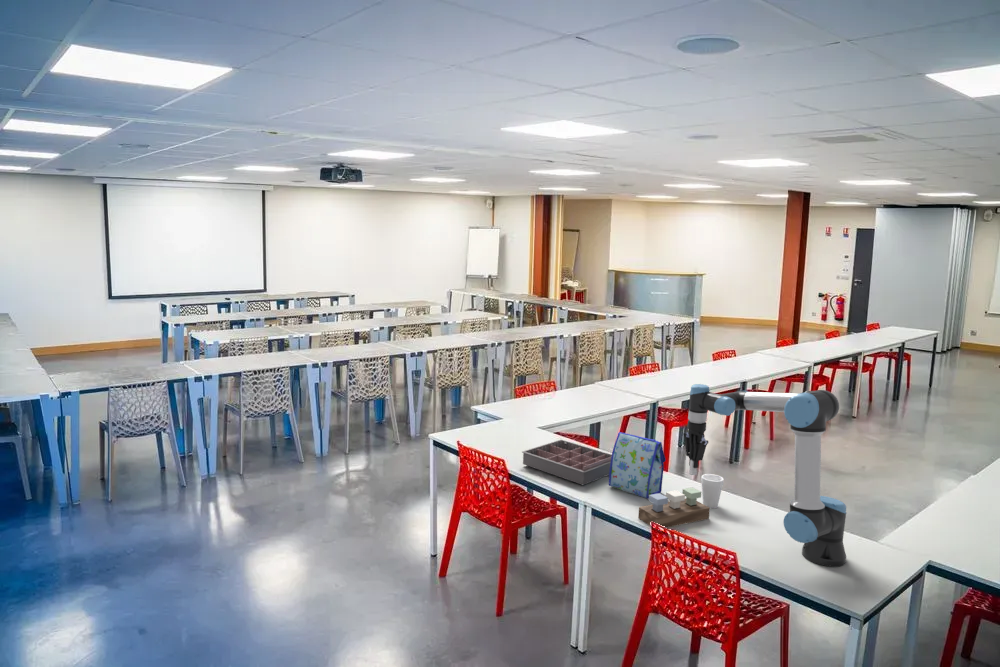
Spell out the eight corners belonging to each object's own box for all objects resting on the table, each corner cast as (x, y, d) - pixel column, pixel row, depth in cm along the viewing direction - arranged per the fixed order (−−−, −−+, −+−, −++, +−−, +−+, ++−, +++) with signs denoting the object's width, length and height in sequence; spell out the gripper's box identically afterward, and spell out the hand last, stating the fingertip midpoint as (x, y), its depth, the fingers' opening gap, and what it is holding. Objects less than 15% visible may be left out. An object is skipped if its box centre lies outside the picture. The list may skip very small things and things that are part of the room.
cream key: (684, 508, 287) (685, 494, 286) (673, 510, 285) (674, 496, 284) (675, 503, 292) (676, 490, 291) (665, 505, 290) (666, 492, 289)
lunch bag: (665, 491, 320) (669, 437, 316) (648, 501, 307) (652, 445, 303) (623, 479, 334) (626, 427, 330) (606, 488, 321) (609, 435, 317)
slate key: (667, 511, 283) (668, 497, 282) (656, 513, 281) (657, 499, 280) (658, 506, 288) (659, 493, 287) (648, 508, 286) (649, 495, 285)
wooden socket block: (708, 518, 290) (709, 507, 289) (656, 529, 278) (657, 518, 277) (689, 508, 300) (690, 497, 300) (638, 518, 288) (639, 507, 288)
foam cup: (706, 510, 299) (709, 482, 297) (695, 502, 307) (697, 474, 306) (725, 508, 301) (728, 480, 299) (713, 500, 310) (716, 473, 308)
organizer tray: (560, 453, 371) (561, 435, 369) (622, 472, 343) (623, 453, 342) (520, 466, 348) (521, 447, 346) (583, 488, 320) (584, 468, 319)
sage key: (700, 505, 291) (701, 491, 290) (690, 507, 289) (691, 493, 288) (691, 500, 296) (692, 487, 295) (681, 502, 293) (682, 489, 293)
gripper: (715, 424, 283) (710, 478, 286) (693, 416, 294) (689, 468, 298) (701, 426, 279) (696, 480, 283) (679, 417, 291) (675, 470, 295)
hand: (692, 474), depth 290 cm, fingers closed
